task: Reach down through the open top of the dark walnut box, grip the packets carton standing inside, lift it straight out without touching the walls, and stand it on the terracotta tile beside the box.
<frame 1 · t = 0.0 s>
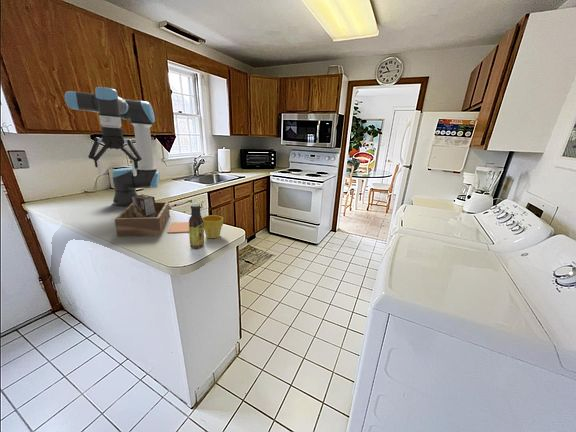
hand: (118, 175, 111), 28 cm above the worktop, tool pointing down, fingers open, 13 cm apart
coffee box: (146, 225, 128), resting in walnut box
plant pot: (212, 236, 122), on the worktop
sauce bottle: (197, 246, 110), on the worktop
walnut box: (146, 225, 128), on the worktop
terracotta tile: (183, 227, 129), on the worktop
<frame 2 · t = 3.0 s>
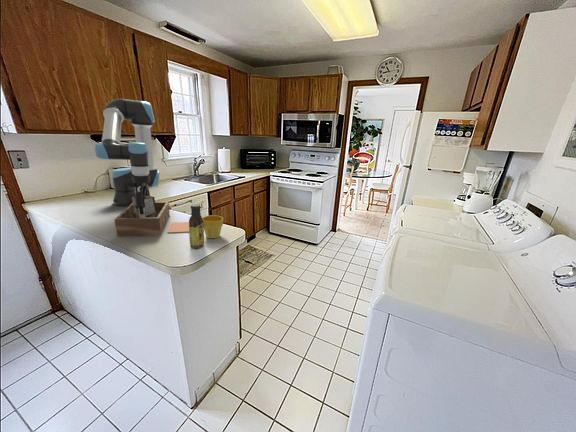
hand: (145, 216, 126), 5 cm above the worktop, tool pointing down, fingers closed on coffee box, 10 cm apart
coffee box: (146, 225, 128), resting in walnut box, touching gripper
everything else where it was.
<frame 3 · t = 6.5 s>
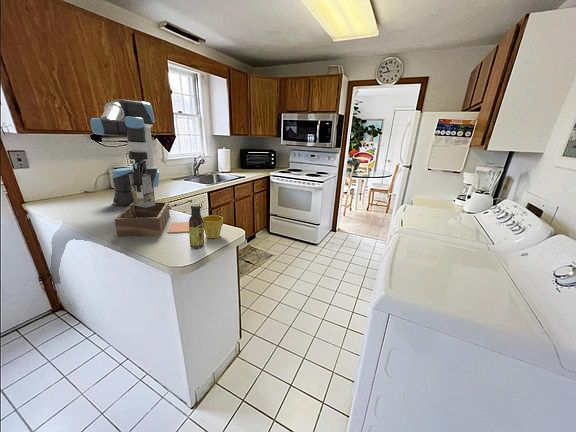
hand: (143, 195, 123), 17 cm above the worktop, tool pointing down, fingers closed on coffee box, 10 cm apart
coffee box: (144, 205, 124), point 11 cm above the worktop, touching gripper
everything else where it was.
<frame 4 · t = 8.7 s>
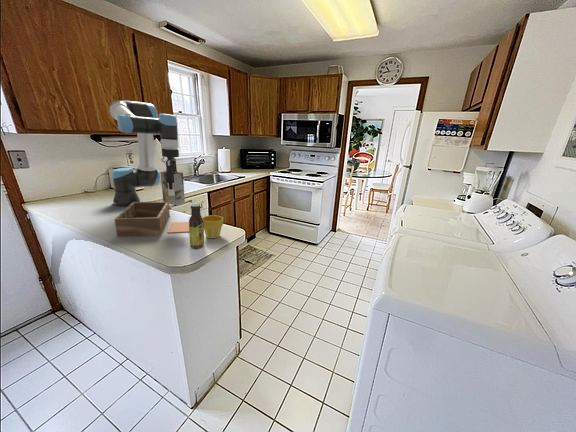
hand: (173, 192, 122), 19 cm above the worktop, tool pointing down, fingers closed on coffee box, 10 cm apart
coffee box: (174, 203, 124), point 14 cm above the worktop, touching gripper
everything else where it was.
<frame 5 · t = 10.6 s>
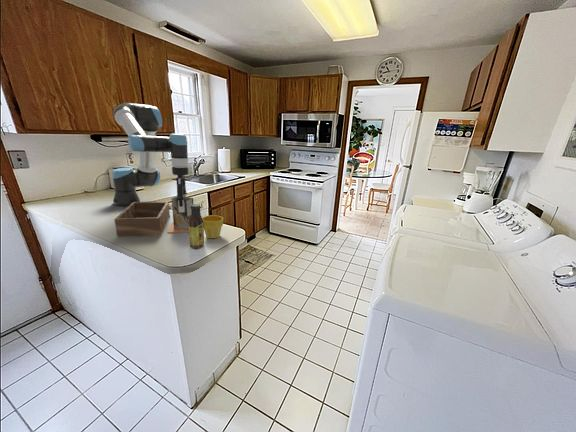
hand: (182, 209, 126), 11 cm above the worktop, tool pointing down, fingers open, 9 cm apart
coffee box: (184, 227, 129), resting on terracotta tile
everything else where it was.
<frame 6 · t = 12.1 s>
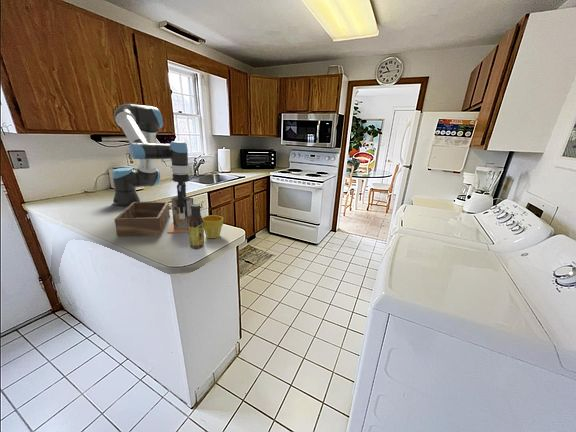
hand: (183, 215, 127), 7 cm above the worktop, tool pointing down, fingers closed on coffee box, 9 cm apart
coffee box: (184, 227, 129), resting on terracotta tile, touching gripper
everything else where it was.
when the fingers open (7 cm above the worktop, at t = 12.1 s): coffee box stays where it is, resting on terracotta tile.
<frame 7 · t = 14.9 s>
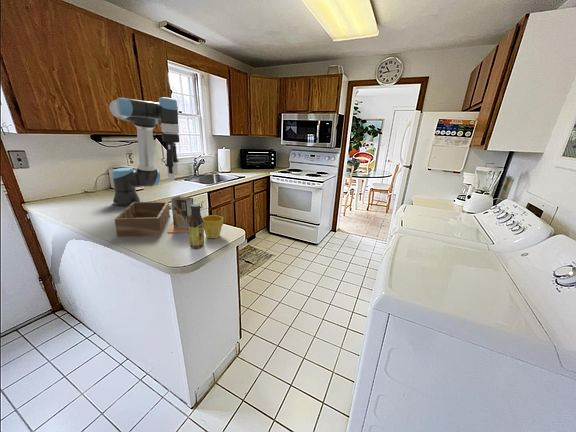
hand: (173, 177, 121), 27 cm above the worktop, tool pointing down, fingers open, 13 cm apart
coffee box: (184, 227, 129), resting on terracotta tile
everything else where it was.
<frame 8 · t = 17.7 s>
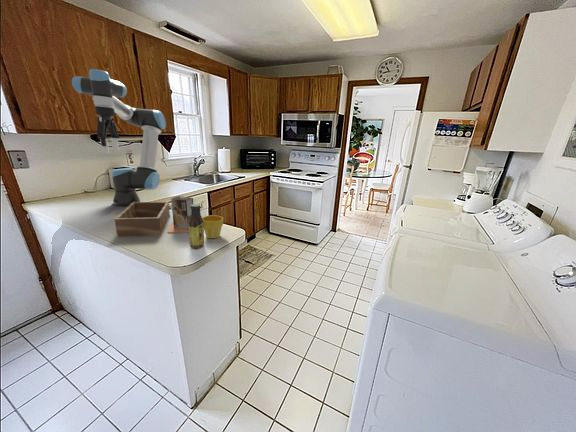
hand: (111, 151, 121), 37 cm above the worktop, tool pointing down, fingers open, 13 cm apart
nothing on the worktop moved.
at the end: coffee box inside the target area (0.2 cm from its centre), resting on terracotta tile; coffee box tilted 0°; the gripper is holding nothing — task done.
